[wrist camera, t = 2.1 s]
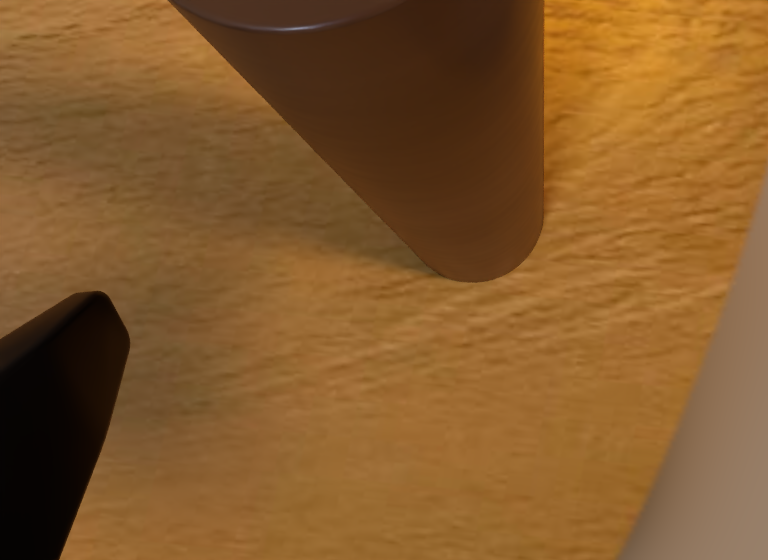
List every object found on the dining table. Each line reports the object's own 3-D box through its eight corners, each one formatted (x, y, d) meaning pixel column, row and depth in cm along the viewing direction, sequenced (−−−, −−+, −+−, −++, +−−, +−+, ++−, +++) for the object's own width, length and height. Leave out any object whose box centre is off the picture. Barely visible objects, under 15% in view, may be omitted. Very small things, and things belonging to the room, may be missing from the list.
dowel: (563, 257, 20) (616, -85, 5) (428, 300, 20) (152, 100, 6) (518, 130, 21) (459, -468, 6) (389, 175, 21) (66, -268, 7)
